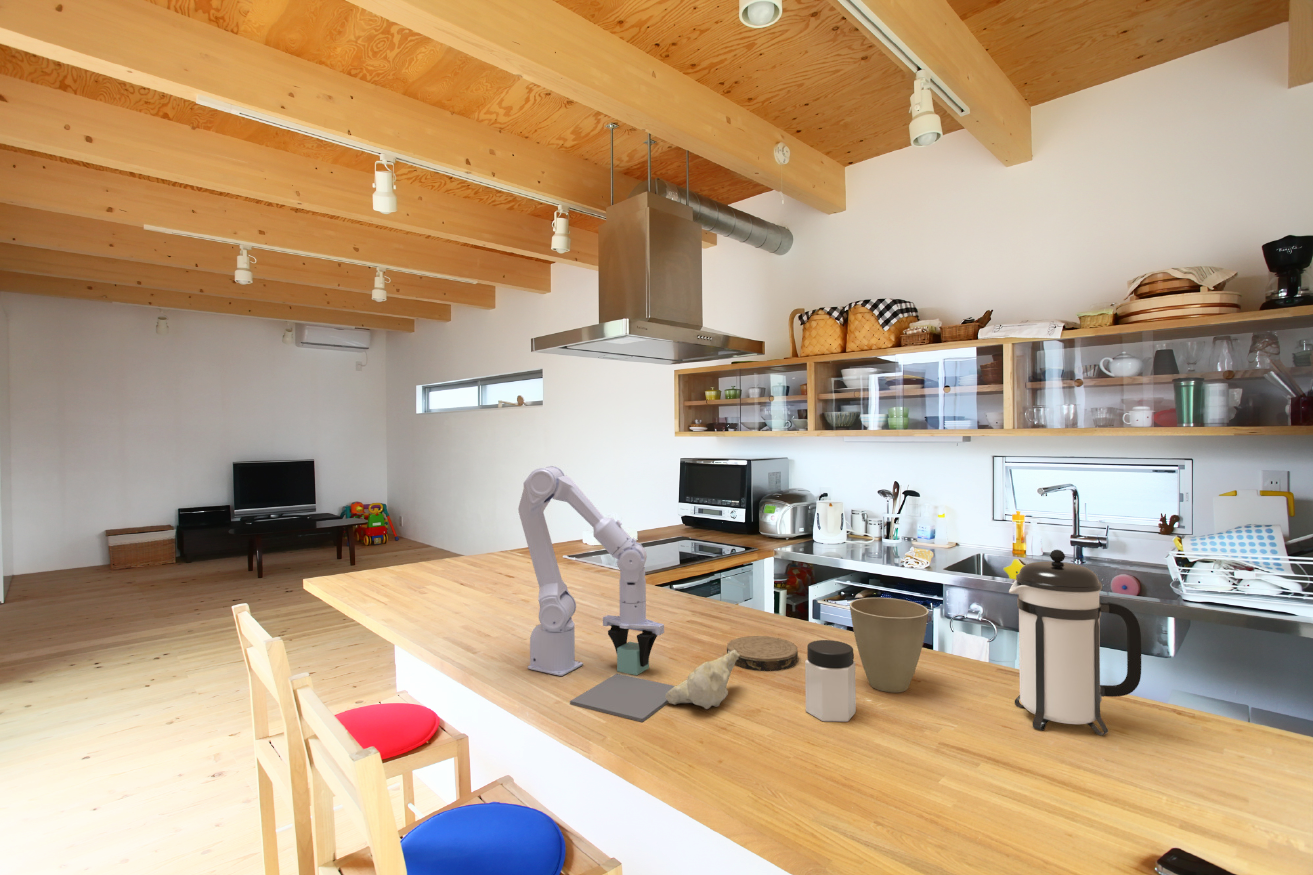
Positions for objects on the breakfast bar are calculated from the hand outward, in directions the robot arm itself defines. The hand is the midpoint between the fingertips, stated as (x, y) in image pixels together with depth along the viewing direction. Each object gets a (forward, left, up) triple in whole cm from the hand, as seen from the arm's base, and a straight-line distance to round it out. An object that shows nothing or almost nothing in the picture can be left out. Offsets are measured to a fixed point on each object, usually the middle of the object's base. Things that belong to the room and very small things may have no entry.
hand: (633, 662), depth 139 cm
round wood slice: (+22, +20, -2) cm, 30 cm away
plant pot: (+50, +17, -2) cm, 53 cm away
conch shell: (+21, -6, -2) cm, 22 cm away
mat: (+7, -13, -2) cm, 15 cm away
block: (0, 0, -1) cm, 1 cm away
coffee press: (+80, +16, -2) cm, 82 cm away
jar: (+43, -1, -2) cm, 43 cm away
